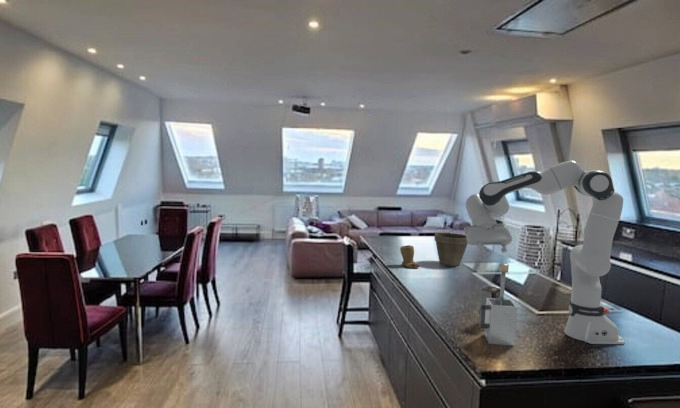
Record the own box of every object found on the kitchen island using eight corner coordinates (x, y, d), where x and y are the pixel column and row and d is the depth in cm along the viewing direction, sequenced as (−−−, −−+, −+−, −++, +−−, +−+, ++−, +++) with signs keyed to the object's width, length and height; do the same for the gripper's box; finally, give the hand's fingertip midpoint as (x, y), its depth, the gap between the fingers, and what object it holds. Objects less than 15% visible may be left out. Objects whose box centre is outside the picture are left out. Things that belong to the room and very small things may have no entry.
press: (508, 336, 185) (510, 299, 184) (514, 345, 175) (517, 307, 174) (476, 333, 187) (479, 297, 185) (481, 342, 177) (483, 304, 176)
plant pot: (469, 262, 329) (471, 234, 327) (465, 269, 306) (467, 239, 304) (436, 258, 339) (438, 231, 337) (429, 265, 316) (431, 235, 314)
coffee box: (492, 327, 195) (494, 292, 194) (478, 323, 199) (480, 289, 198) (499, 322, 202) (501, 288, 201) (485, 318, 206) (487, 285, 205)
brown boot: (397, 264, 316) (398, 243, 315) (413, 264, 318) (414, 243, 317) (404, 269, 301) (405, 247, 300) (420, 268, 303) (421, 247, 302)
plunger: (507, 315, 183) (511, 262, 181) (512, 321, 176) (516, 267, 174) (488, 313, 184) (491, 261, 182) (492, 320, 177) (496, 265, 175)
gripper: (465, 221, 189) (475, 248, 180) (507, 221, 193) (519, 247, 185) (459, 230, 194) (469, 256, 185) (500, 230, 198) (512, 255, 189)
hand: (494, 251), depth 185 cm, fingers open, 8 cm apart
